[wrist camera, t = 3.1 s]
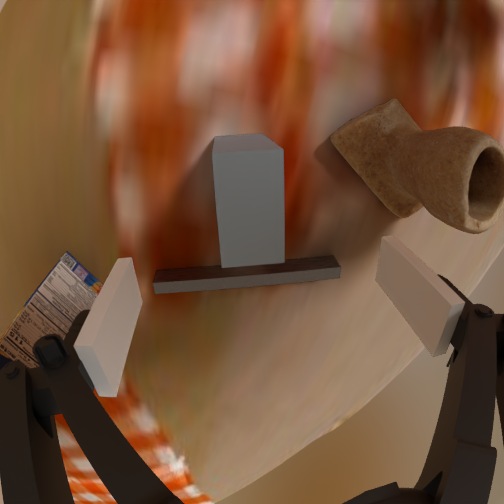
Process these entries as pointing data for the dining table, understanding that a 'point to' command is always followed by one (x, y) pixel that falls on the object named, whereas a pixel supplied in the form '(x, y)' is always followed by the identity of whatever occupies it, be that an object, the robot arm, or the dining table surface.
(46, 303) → the blue food box
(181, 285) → the rail
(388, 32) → the dining table surface
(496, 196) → the brown piece
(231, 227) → the slate carton
